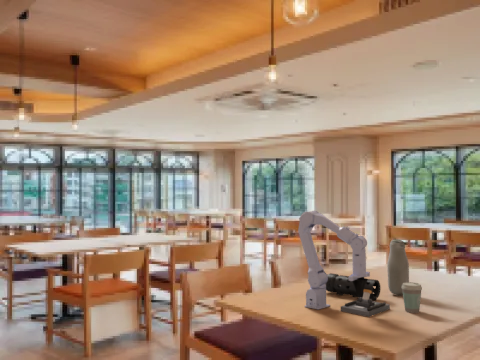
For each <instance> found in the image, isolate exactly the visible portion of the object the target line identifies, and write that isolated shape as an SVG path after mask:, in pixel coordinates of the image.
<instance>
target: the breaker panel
mask: <svg viewBox="0 0 480 360" xmlns="http://www.w3.org/2000/svg"><path fill="white" fill-rule="evenodd" d="M362 298H363V297H360V298H358V297H357V299H355V300H352V301H350V302H349V301H348V302H345V303H344V305H341V306H340V312H343V313H349V314H353V315H358V316H361V317H362V316H363V317H366V316H368V317H367V318H370V317H373V316H376V315H378V314H380V312H381V313H383V312H386V311H388V310H390V309H391V305H390V303H389V304H388V303H386V302H385V301H383V302H378V301H375V300H372V299H368V301H367V300H363V299H362ZM375 314H376V315H375ZM372 315H373V316H372Z"/></svg>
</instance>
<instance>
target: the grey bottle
mask: <svg viewBox="0 0 480 360" xmlns="http://www.w3.org/2000/svg"><path fill="white" fill-rule="evenodd" d="M386 265H387V267H386V268H387V286H388V290H389V292H390V293H391V294H392V295H395V296H403V291H402V285H403V283H406V282H410V265H409V259H408V256H407V252H406V244H405V242H404V240H401V239H393V240H391V241H390V242H389V254H388V257H387V263H386Z"/></svg>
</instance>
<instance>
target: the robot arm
mask: <svg viewBox="0 0 480 360" xmlns="http://www.w3.org/2000/svg"><path fill="white" fill-rule="evenodd" d="M298 220H299V223H298V230H297V231H298V236H299V238H300V242H301V246H302V249H303V252H304V255H305V259H306V263H307V266H308V270H307V276H308V277H307V282H308V284H309V286H310V287H309V289H307V290H306V292H305V305H304V308H310V309H314V310H322V309H325V308H328V307H330V306H331V304H328V303H327V290H326V282H327V281H328V276H327V274H328V273H326V272H325V271H326V270H325V269H324V267H323V266H322V265H321V263H320V260H319V257H318V254H317V253H318V252H317V251H316V246H315V244H314V241H313V240H314V239H313V236H312V233H311V231H312V230H313V229H314V227H315V226H317V225H320V226H321V225H322V226H323V227H324V228H327V229H329V230H330V231H332V232H334V233H335V234H336V236H337V238H338V239H339V240H341V241H343V242H344V243H346V244H347V245H349V246H350V248H351V249H352V255H351V256H352V259H351V260H352V273H351V274H350V275H349V276H348V275H347V276H348V277H349V281H352V282H353V284H354V286H355V289H356V293H357V295H360V296H361V295H363V291H364V287H365V284H366V282H367V279H368V278H369V277H370V276H371V272H370V271H367V256H366V253H367V252H366V248H367V245H368V240H367V239H366V237H364V235H360V234H359V233H355V232H353V231H352V229H351V230H350V227H348V226H342V227H341V226H339V225H338V224H337V223H335V222H333V220H331V219H330V218H329V217H326V216H325V215H324V214H322V213H321V212H318V211H317V210H311V211H303V212H302V214H301V215H300V217H299V218H298Z"/></svg>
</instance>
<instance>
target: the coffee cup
mask: <svg viewBox="0 0 480 360" xmlns="http://www.w3.org/2000/svg"><path fill="white" fill-rule="evenodd" d="M422 290H423V286H422V284H421V283H418V282H410V281H409V282H406V283H403V285H402V291H403V295H402V297H403V306H404V312H406V313H410V314H419V313H420V309H421V297H422Z"/></svg>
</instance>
